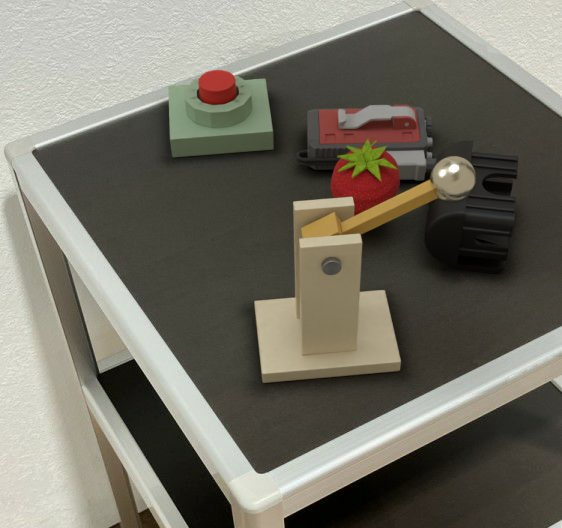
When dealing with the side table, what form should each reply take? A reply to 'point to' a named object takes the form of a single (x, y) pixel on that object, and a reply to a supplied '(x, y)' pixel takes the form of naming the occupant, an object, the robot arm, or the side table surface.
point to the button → (217, 87)
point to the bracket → (325, 309)
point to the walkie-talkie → (370, 136)
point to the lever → (404, 200)
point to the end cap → (475, 214)
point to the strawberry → (365, 177)
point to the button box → (220, 120)
